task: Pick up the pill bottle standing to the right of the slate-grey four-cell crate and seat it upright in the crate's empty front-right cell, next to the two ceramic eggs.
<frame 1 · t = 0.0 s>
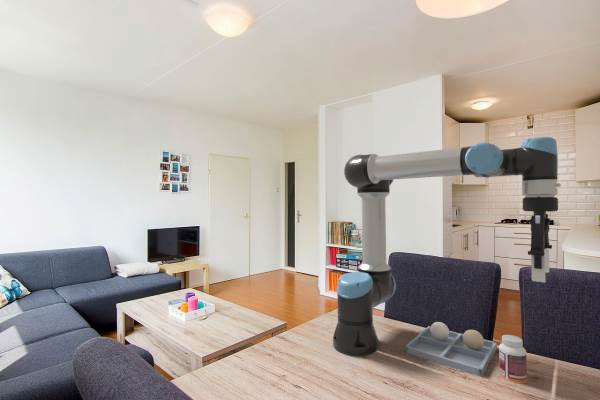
hand: (541, 276, 84), 28 cm above the table, fingers open, 13 cm apart
egg white: (439, 340, 107), point 1 cm above the table, touching carton
carton: (451, 352, 100), on the table
pill bottle: (512, 379, 85), on the table
egg brown: (473, 349, 101), point 1 cm above the table, touching carton
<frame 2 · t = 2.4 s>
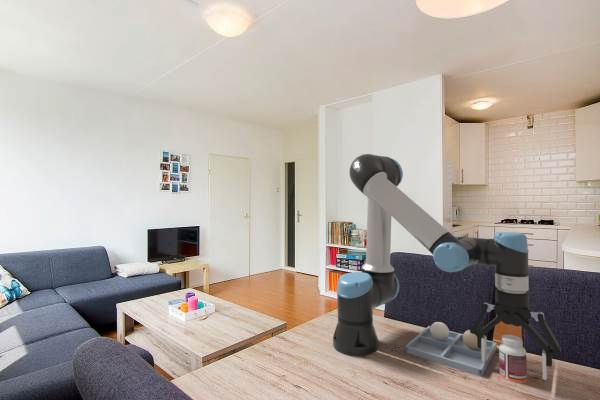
hand: (512, 368, 85), 3 cm above the table, fingers open, 13 cm apart
nothing on the table moved.
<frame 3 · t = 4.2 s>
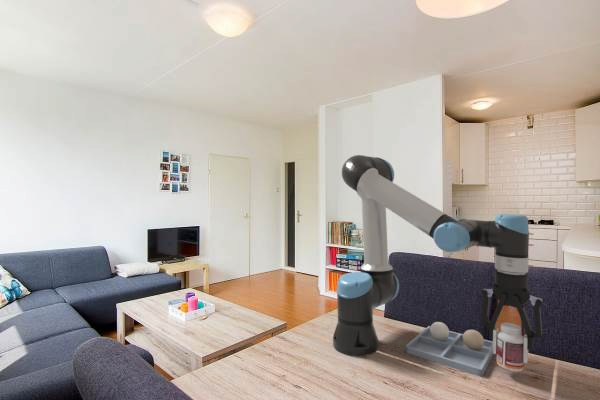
hand: (510, 356, 85), 6 cm above the table, fingers closed on pill bottle, 6 cm apart
pill bottle: (509, 366, 86), point 3 cm above the table, touching gripper
everything else where it was.
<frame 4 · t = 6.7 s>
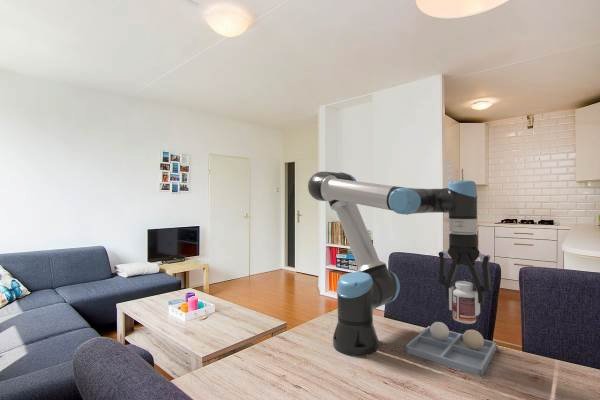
hand: (464, 311, 93), 16 cm above the table, fingers closed on pill bottle, 6 cm apart
pill bottle: (464, 320, 93), point 13 cm above the table, touching gripper
everything else where it was.
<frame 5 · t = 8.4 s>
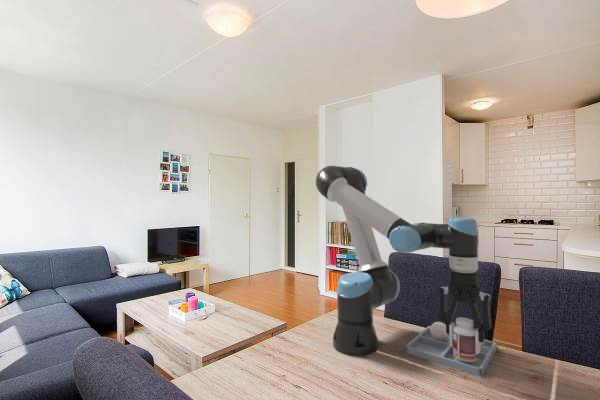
hand: (464, 348, 93), 5 cm above the table, fingers closed on pill bottle, 6 cm apart
pill bottle: (464, 358, 93), point 2 cm above the table, touching gripper
everything else where it was.
when the fingers open (4 cm above the table, at t = 9.4 s): pill bottle stays where it is, resting on carton.
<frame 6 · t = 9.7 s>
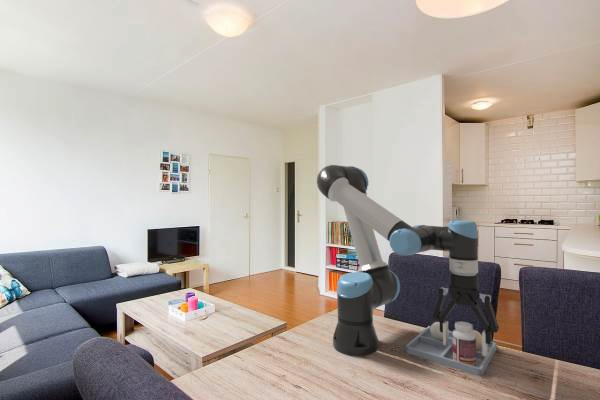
hand: (464, 348, 93), 5 cm above the table, fingers open, 10 cm apart
pill bottle: (464, 362, 93), point 1 cm above the table, touching carton
everything else where it was.
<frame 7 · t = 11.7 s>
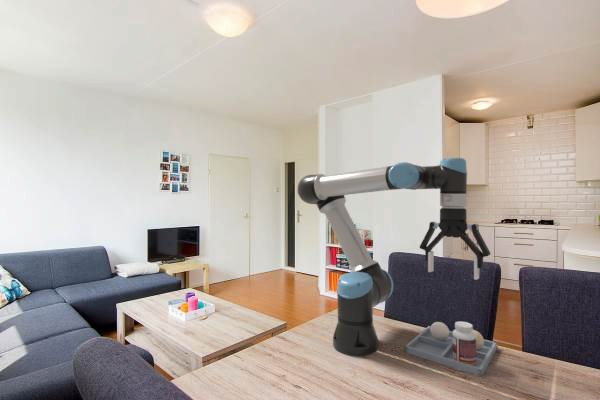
hand: (452, 275, 99), 25 cm above the table, fingers open, 13 cm apart
nothing on the table moved.
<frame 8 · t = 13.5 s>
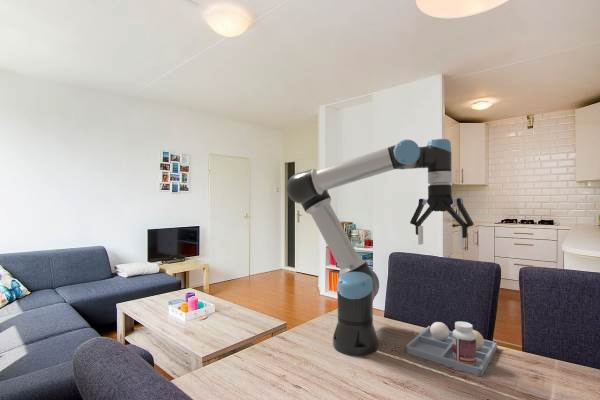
hand: (440, 246, 109), 33 cm above the table, fingers open, 13 cm apart
nothing on the table moved.
at the end: pill bottle inside the target area on the carton (0.1 cm from its centre), point 0.6 cm above the carton's base; pill bottle tilted 0°; the gripper is holding nothing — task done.
